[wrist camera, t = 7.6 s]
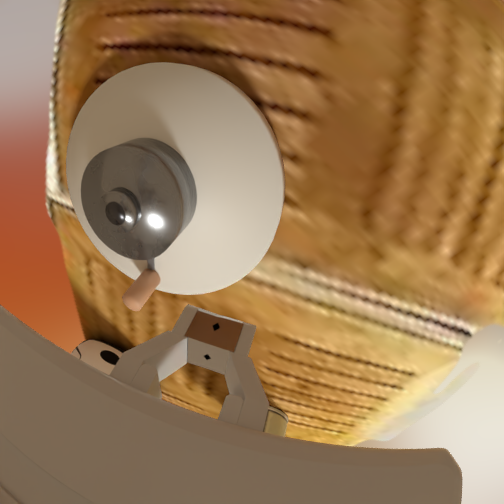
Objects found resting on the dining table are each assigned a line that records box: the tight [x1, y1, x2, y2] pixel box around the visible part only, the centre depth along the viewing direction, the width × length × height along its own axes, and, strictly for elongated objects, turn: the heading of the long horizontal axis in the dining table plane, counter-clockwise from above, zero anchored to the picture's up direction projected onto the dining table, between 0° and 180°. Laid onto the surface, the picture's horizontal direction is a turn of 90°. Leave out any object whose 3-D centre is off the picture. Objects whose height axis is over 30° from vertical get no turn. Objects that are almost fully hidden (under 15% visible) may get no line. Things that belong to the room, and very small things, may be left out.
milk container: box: [71, 339, 124, 375], centre depth 37 cm, size 17×17×18 cm
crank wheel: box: [66, 62, 285, 311], centre depth 21 cm, size 21×21×6 cm
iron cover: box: [81, 138, 197, 260], centre depth 20 cm, size 9×9×5 cm
